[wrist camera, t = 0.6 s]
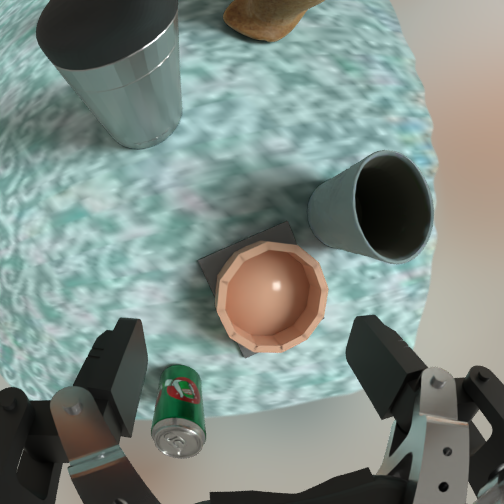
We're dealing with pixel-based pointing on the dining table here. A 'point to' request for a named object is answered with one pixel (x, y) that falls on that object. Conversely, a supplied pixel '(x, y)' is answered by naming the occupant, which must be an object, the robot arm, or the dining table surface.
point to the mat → (217, 260)
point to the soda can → (179, 413)
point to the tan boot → (266, 17)
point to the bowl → (270, 296)
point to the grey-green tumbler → (375, 209)
